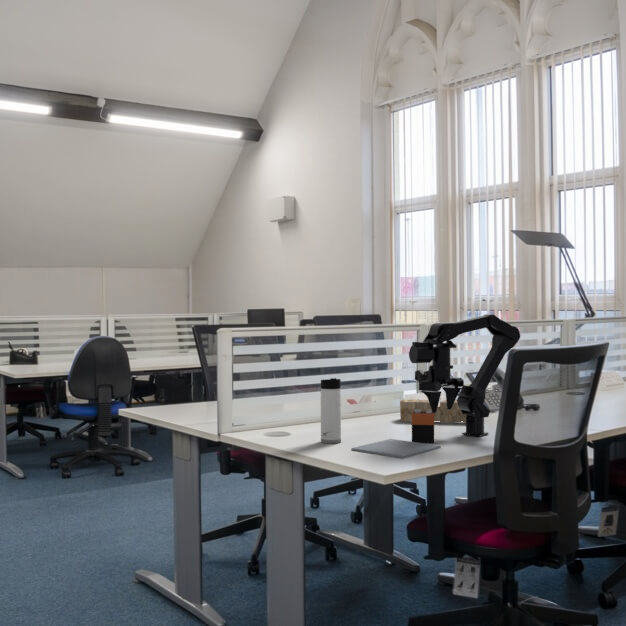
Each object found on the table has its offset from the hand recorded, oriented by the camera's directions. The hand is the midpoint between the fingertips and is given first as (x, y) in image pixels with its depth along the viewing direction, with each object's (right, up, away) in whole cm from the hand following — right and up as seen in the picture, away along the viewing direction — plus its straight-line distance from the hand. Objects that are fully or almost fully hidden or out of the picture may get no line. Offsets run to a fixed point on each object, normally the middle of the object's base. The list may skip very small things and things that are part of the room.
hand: (441, 410), depth 234 cm
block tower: (+5, -9, +34) cm, 36 cm away
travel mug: (-36, -9, -8) cm, 37 cm away
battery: (-7, -9, -8) cm, 14 cm away
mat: (-17, -9, -19) cm, 27 cm away
